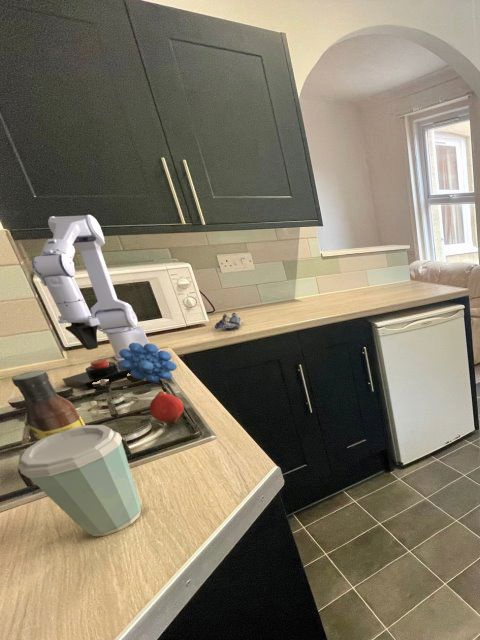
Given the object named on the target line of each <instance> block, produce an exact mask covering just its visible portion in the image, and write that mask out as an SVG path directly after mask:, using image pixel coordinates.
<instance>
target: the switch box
mask: <svg viewBox="0 0 480 640" xmlns="http://www.w3.org/2000/svg"><path fill="white" fill-rule="evenodd" d="M120 362H121V361H116V362H115V361H108V363H109V365H108V366H106V367H102V368H97V369H93V368H92V366H91V365H90V366H88V367H86V368H85V372H81V373H78V374H75V375H71V376H68V377H65V378H62V381H63V383H64V385H65V386H66V387H68V388H69V387H70V388H75V389H80V390H86V391H91V390H94V389H97V388H98V387H93V385H92V383H93V382H97V381H99V380H101V379H109V382H110V383H109V384H112V383H114V382H117V381H120V380H124V379H127V378H128V377H127V374H128V373H129V374H131V373H130V372H131V370H126V369H124V368H122V367H121V365H120Z"/></svg>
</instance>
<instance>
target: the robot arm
mask: <svg viewBox="0 0 480 640" xmlns="http://www.w3.org/2000/svg"><path fill="white" fill-rule="evenodd" d="M47 224H48V228H49V229H50V231H51V232H52V234H53V235H52V238H48V239H47V240H46V241H45V242H44V245H43V247H42V250H41V252H40V255H36V256H34V258H31V260H30V264H31V268H32V271H33V273H34V275H36V277H37V278H38V279H39V280H40V282H41V283H42V285H43V286H44V287H46V288H47V289H48V292H49V294H50V296H51V298H52V300H53V302H54V304H55V307H56V308H57V310H58V312H59V314H60V315H59V316H58V320H57V322H58V324H70V325H69V326H65V327H64V329H65V330H66V331H68V332H69V333H70V334H72V335H73V336H74V337H75V339H77V340H78V341H79V342H80V344H81V345H82V346H83V347H84V348H85V350H86V351H87V350H88V351H91V350H94V349H98V348H99V343H98V331H99V332H101V333H102V334H104V335H106V337H107V339H108V342H109V344H110V346H111V348H112V350H113V352H114V355H113V357H114V359H115V360H116V362H121V361H122V360H124V359H123V358H122V357H121V356H120V354H119V352H120V350H122V349H129V345H130V344H131V343H139V344H141V345H142V346H143V347H144V345H146V344H151V343H150V341H149V339H148V337H147V334H146V332H145V330H144V328H143V327H142V326H138V324H139V322H138V321H139V320H138V317H137V314H136V312H135V311H134V309H133V307H132V305H131V304H129V303H128V302H126V301H123V300H121V299H118V297H117V293H116V290H115V288H114V285H113V282H112V278H111V276H110V272H109V270H108V267H107V264H106V261H105V258H104V255H103V252H102V248H101V247H102V246H104V245H105V244H106V241H105V236H104V233H103V231H102V228H101V225H100V224H99V222H98V220H97V219H96V217H94V216H93V215H91V214H86V215H67V216H65V215H64V216H49V218H48V220H47ZM76 249H77V250H78V251H79V252H80V256H81V258H82V261H83V264H84V267H85V270H86V272H87V275H88V278H89V281H90V283H91V287H92V289H93V292H94V295H95V298H96V301H97V302H95V303H94V305H93V306H91V307H90V309H89V307H88V305H87V302H86V300H85V297H84V295H83V294H82V292H81V290H80V287H79V284H78V283H77V280H76V279H75V277H74V276H76V269H75V263H74V261H73V260H74V257H75V254H76ZM129 350H130V349H129Z"/></svg>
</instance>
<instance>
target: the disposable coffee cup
mask: <svg viewBox="0 0 480 640" xmlns="http://www.w3.org/2000/svg"><path fill="white" fill-rule="evenodd" d="M122 440H123V437H122V436H121V434H120V433H119V432H118V431H114V430H113V429H112V428H110V427H108V426H106V425H104V424H85V425H84V426H80V427H76V428H72V429H68V430H65V431H62V432H59V433H56V434H53V435H51V436H48V437H46V438H43V439H41V440H39V441H38V440H37V442H35V443H34V444H31V445H30V446H29V447H27V448H26V449H25V450H24V452H22V453H23V454H22V455H21V457H20V459H19V461H20V463H19V464H18V466H17V468H18V469H19V472H20V474H21V475H23V476H24V477H26V478H28V479H30V480H31V481H32V482H33V483H34V484H35V485H36V486H37V487H38V488H39V489H40V490H41V491H42V492H43V493H45V494H46V495H47V497H49V498H50V500H51V501H52V502H54V503H55V504H56V505H57V506H58V507H59V508H60V509H61V510H62V511H63V512H64V513H65V514H66V515H67V516H68V517H69V518H70V519H71V520H72V521H73V522H74V524H76V525H77V526H78V527H79V528H81V530H83V532H85V533H86V534H88V535H91V536H92V537H94V538H95V537H96V538H97V537H105V536H108V535H109V536H110V535H112V534H115V533H117V532H120V531H122V530H123V529H125V528H127V527H128V526H130V525H132V524H133V523H134V522H135V521H136V520H137V519H138V518H140V516H141V512H142V503H141V500H140V497H139V494H138V490H137V487H136V484H135V480H134V477H133V474H132V471H131V467H130V464H129V461H128V457H127V454H126V451H125V448H124V444H123V442H122Z"/></svg>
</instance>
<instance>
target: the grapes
mask: <svg viewBox="0 0 480 640" xmlns="http://www.w3.org/2000/svg"><path fill="white" fill-rule="evenodd" d="M129 349H130V350H129ZM129 349H122V350H120V352H119V354H120V356H121V357H122V358H123V359H124V360H121V361H119V362H120V365H121V367H122V368H124V369H126V370H131V372H130V373H131V375H132V376H131V377H132V378H134V379H136V380H143V379H146V381H148V382H149V383H153V384H154V383H159V382H160V380H161V379H162V380H170V379H172V378H173V373H172V372H174V371H176V370H177V367H178V366H177V364H176V363H175V362H173V361H172V354H171V352H169V351H166V350H159V346H157V344H154V343H150V344H146V345H144V347H143V346H142V345H141V344H139V343H131V344H130V345H129Z"/></svg>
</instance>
